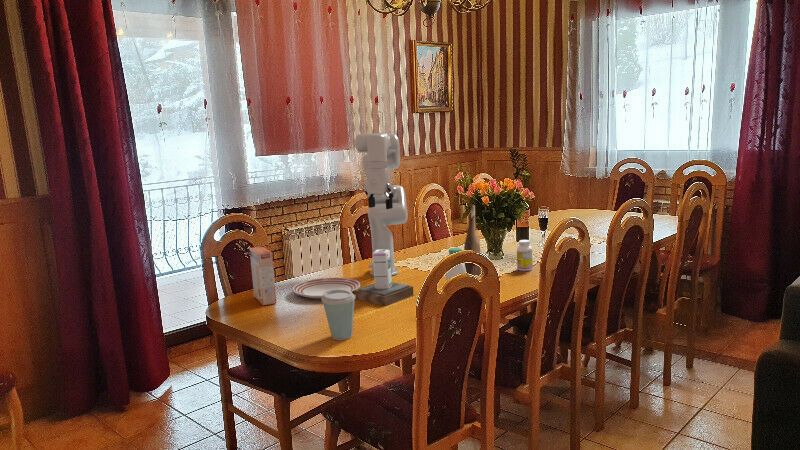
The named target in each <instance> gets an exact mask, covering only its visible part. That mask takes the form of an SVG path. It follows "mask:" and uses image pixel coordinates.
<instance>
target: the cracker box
mask: <svg viewBox="0 0 800 450" xmlns="http://www.w3.org/2000/svg"><path fill="white" fill-rule="evenodd" d="M249 256H250V257H249V258H250V267H251V268H250V269H251V276H252V278H251V280H252V289H253V298H254V297H255V298H256V299H257V300H258V301H259V302H260V303H259V302H258V303H259V304H260V305H261V306H264V305H265V306H270V305H275V303H276V304H277V292H276V281H275V280H276V279H275V270H274V258H273V252H272V251H271V250H269V249H267V248H266V247H265V246H255V247H254V246H253V247H249ZM255 298H254V299H255ZM256 299H255V300H256ZM257 300H256V301H257ZM265 306H264V307H265Z"/></svg>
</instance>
